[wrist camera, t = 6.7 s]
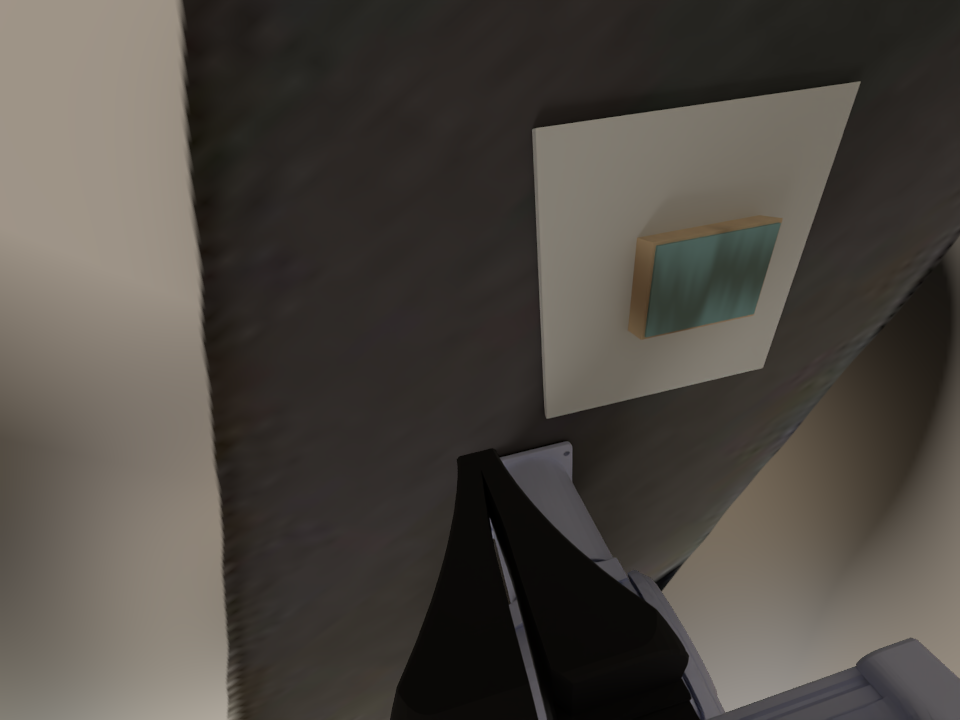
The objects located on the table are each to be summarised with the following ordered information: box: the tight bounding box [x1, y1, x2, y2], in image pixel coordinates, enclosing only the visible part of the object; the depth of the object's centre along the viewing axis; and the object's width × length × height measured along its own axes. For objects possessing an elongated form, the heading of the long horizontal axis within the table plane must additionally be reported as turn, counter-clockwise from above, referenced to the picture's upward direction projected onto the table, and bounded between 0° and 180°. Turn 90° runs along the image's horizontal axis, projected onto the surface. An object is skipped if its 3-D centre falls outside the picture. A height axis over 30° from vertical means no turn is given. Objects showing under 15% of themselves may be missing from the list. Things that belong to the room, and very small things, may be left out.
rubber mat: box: [532, 81, 861, 419], centre depth 22 cm, size 18×18×1 cm
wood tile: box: [628, 215, 783, 340], centre depth 21 cm, size 6×2×8 cm
